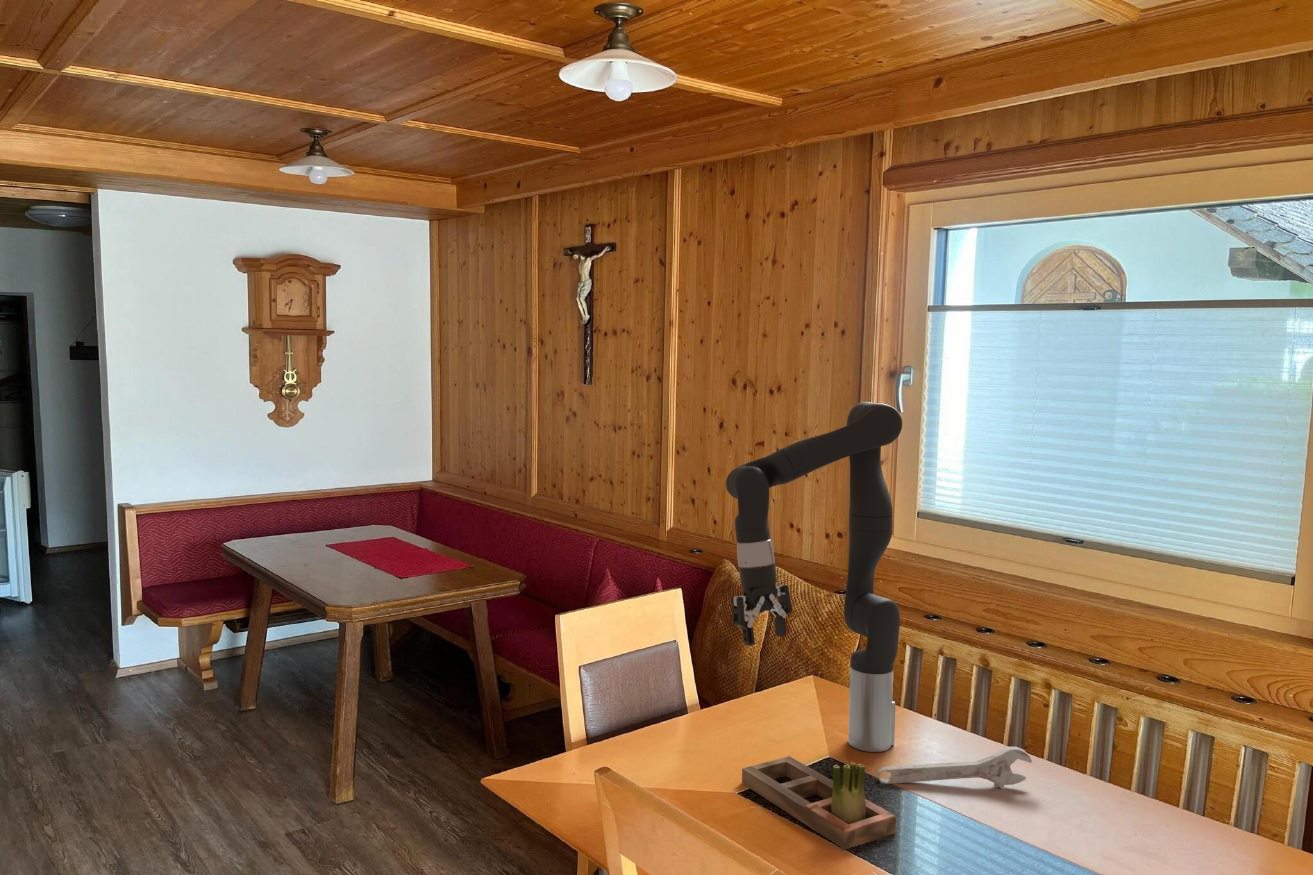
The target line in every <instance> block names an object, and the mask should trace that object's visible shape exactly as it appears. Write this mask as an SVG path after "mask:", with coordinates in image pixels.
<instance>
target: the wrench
mask: <svg viewBox="0 0 1313 875" xmlns="http://www.w3.org/2000/svg"><path fill="white" fill-rule="evenodd" d="M1018 760H1021V761H1024V762H1026V763H1030V764H1032V761H1033V760H1032V757H1031V756H1030V755H1029V754H1028V752H1026V750H1024V749H1023V748H1021V747H1019V746H1007V747H1004V748H1003V749H1001V750H999V751H998V752H995V753H993V754H991V755H989V756H986V757H984V758H982V759H979V760H976V761H959V762H958V761H955V762H942V763H927V764H926V763H925V764H908V765H905V764H903V765H892V766H890V765H889V766H882V767H880V768H878V770H877V773H876V775H877V779H878V781H879V783H880V784H891V785H892V784H904V783H917V782H931V781H932V782H933V781H944V780H945V781H946V780H957V779H974V778H975V779H976V778H979V779H983V780H987V781H989V782H992V783H994V784H993V787H994V788H997V789H998V788H1000V789H1001V790H1004V788H1005V786H1010V785H1011V786H1012V785H1016V784H1019V783H1022V782H1023V781H1026V779H1027V775H1025V774H1024V773H1022V772H1019V771H1014V770H1012V769H1011V765H1012V764H1014V763H1015V762H1016V761H1018ZM883 772H887V773H890V776H889V778H887V779H883V778H881V775H882V773H883Z"/></svg>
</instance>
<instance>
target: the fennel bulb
mask: <svg viewBox="0 0 1313 875" xmlns="http://www.w3.org/2000/svg"><path fill="white" fill-rule="evenodd" d="M842 767H843V768H842V775H841V767H840V766H839V765H838V764H835V765H833V766H832V781H833V791H832V801H831V811H832V815H834V816H836V817H837V818H839V819H840V820H842V821H844V822H845V823H847V824H852V823H855V822H858V821H861V820H864V819H865V815H866V802H865V799H866V796H865V789H864V788H865V786H864V784H865V773H866V772H865V771H866V765H864V764H862V763H858V764H857V763H856V762H854V761H853V762H850V765H849V764H847V763H846V764H844V765H843V766H842Z"/></svg>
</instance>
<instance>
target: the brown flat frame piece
mask: <svg viewBox="0 0 1313 875" xmlns="http://www.w3.org/2000/svg"><path fill="white" fill-rule="evenodd" d="M741 771H742V772H741V783H742V784H743V785H744V786H746V787H747V788H749V789H750V790H752V791H753V792H755V793H757V794H758V795H760V796H761V797H762V798H764V799H766V800H767V801H769V802H770V803H772V804H773V805H775V806H777V807H778V808H780V809H781V810H783V811H784V812H786V813H787V814H789V815H790V816H791V817H793V818H795V819H796V820H798V821H800V822H801V823H803V824H804V825H806V826H807V827H809V828H810V829H812V830H813V831H815V832H816V833H818V834H819V833H820V835H821V836H822V835H823V837H824V838H825V837H826V838H825V839H827V838H828V839H829V840H828V839H827V840H828V841H830V840H831V841H832V842H831V841H830V842H831V843H833V842H834V843H835V845H836V844H837V845H836V846H838V847H839V846H840V847H839V848H841V847H842V848H843V849H842V848H841V849H842V850H844V849H847V850H850V849H852V848H851V847H853V848H855V846H856V847H858V845H859V846H862V845H865V844H867V843H870V842H873V841H876V840H880V839H883V838H886V837H889V836H892V835H895V834H896V833H897V832H896V831H897V830H896V828H897V816H896V815H895V814H893V813H892V812H890V811H887V810H886V809H885V808H883V807H881V806H879V805H878V804H876V803H873V802H872V801H871V800H869V799H866V798H865V802H866V815H865V819H864V820H861V821H858V822H855V823H852V824H847V823H845V822H844V821H842V820H840V819H839V818H837V817H836V816H834V815H832V811H831V801H832V791H833V779H831V778H828V777H827V776H825V775H823V774H822V773H820V772H818V771H816V770H815V769H813V768H812V767H809V766H808V765H806V764H805V763H802V762H801V761H799V760H798V759H796V758H793V757H792V756H791V755H789V756H786V757H782V758H779V759H778V758H777V759H774V760H770V761H765V762H762V763H758V764H754V765H750V766H746V767H742V769H741ZM784 777H787V778H788V779H791V780H789V781H786V782H782V783H779V782H778V781H777V780H776V779H780V778H784ZM812 796H818V797H821V798H822V800H819V801H815V802H810V801H809V800H807V799H806V798H809V797H812ZM834 843H833V844H834ZM849 848H850V849H849Z"/></svg>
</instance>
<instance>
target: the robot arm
mask: <svg viewBox="0 0 1313 875" xmlns="http://www.w3.org/2000/svg"><path fill="white" fill-rule="evenodd" d="M902 429H903V419H902V416H901V413H900V412H899V411H898V409H896V408H895V407H893V406H891V405H889V404H886V403H882V402H871V401H862V402H859V403H857V404H855V405H853V407H852V408H851V410H850V412H848V415H847V420H846V425H845V426H842V427H840V428H838V429H835V430H831V431H828V432H826V433H822V434H818V435H815V436H812V437H808V438H804V439H801V440H799V441H796V442H793V443H791V444H789V445H787V446H784V447H782V448H781V449H778V450H776V451H774V452H772V453H771V454H768V455H766V456H764V457H761V458H758V459H755V460H752V461H749V462H747V463H744V464H741V465H739V466H737V467H735V468H734V469H732V470H730V472H729V473H728V475H727V477H726V480H725V488H726V490H727V492H728V494H729V495H730V496H731V497H733V498H734V499H736V500H737V509H738V510H737V511H738V512H737V515H736V517H735V518H734V529H735V530H734V531H735V538H736V556H737V565H738V573H739V582H740V586H741V588H742V590H743V593H742V595H733V596H731V598H730V599H731V600H730V601H731V602H730V603H731V615H732V616H731V617H732V624H733V625H734V626H737V627H741V630H742V631H741V632H742V638H743V643H745V645H746V646H750V647H753V646H755V644H756V641H755V634H754V627H753V624H754V621H755V619H757V617H758V616H759V614H762V613H764V612H766V611H767V612H768V611H769V612H771V613H772V616H774V628H775V635H776V636H777V637H781V638H783V637H785V636H786V633H787V625H786V617H787V615H789V614H792V612H793V607H792V602H791V595H790V588H789V586H788V584H777V582H778V577H777V569H776V561H775V553H774V552H775V551H774V548H773V543H772V540H771V539H772V538H771V531H770V524H769V523H770V522H769V510H770V508H769V507H770V488H773V487H776V486H781V485H785V484H788V483H791V482H793V481H796V480H797V479H800V478H801V477H804V476H806V475H808V474H811V473H812V472H814V471H816V470H819V469H821V468H823V467H825V466H827V465H830V464H832V463H835V462H837V461H839V460H843V459H845V458H846V457H849V458H848V459H849V508H848V510H849V511H848V537H849V538H848V539H849V540H848V568H847V578H846V579H847V580H846V586H845V596H844V606H843V608H844V609H843V613H844V614H843V616H844V622H845V624H846V627H847V628H848V630H850V631H851V632H852V633H855V634H858V635H860V636H863V637H865V638H866V646H865V648H862V649H858V650H855V651H853V652H852V653H851V654H850V661H849V662H850V664H849V695H848V696H849V700H848V701H849V702H848V735H847V736H848V737H847V738H848V740H847V742H848V745H849V746H850V747H852V748H854V749H857V750H859V751H864V752H869V753H881V752H885V751H888V750H889V749H890V748H891V746H893V745H895V737H896V736H895V732H896V729H895V728H896V727H895V726H896V706H897V704H896V703H895V701H893V691H894V689H893V687H894V664H895V662H896V659H897V656H898V647H899V638H900V626H901V625H900V624H901V615H900V614H901V613H900V610H899V607H898V605H897V603H896V602H895V601H894V600H892V599H890V598H886V597H883V596H879V595H877V594H875V592H874V584H875V583H874V582H875V581H874V580H875V571H876V568H877V565H878V563H879V562H880V560H881V558H882V556H883V555H884V553H885V552H886V550H887V548H888V546H889V544H890V542H891V539H892V535H893V516H894V515H893V504H892V499H891V495H890V492H889V488H888V485H887V483H886V480H885V477H884V474H883V470H882V460H881V459H882V447H884V446H887V445H890V444H892V443H893V442H894V441H896V440H897V438H898V437H899V436H900V434H901V432H902ZM776 584H777V585H776ZM777 598H778V599H777Z"/></svg>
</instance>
